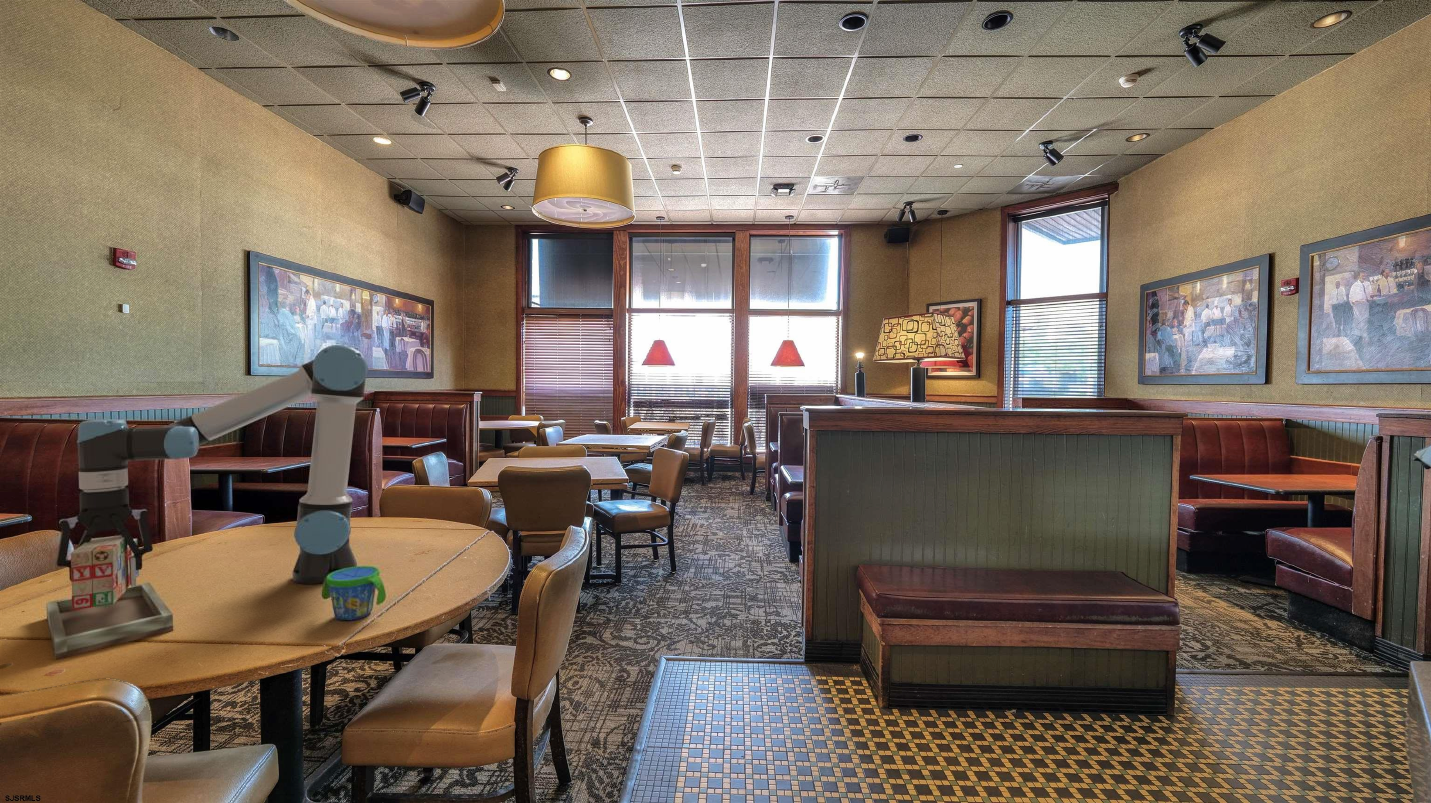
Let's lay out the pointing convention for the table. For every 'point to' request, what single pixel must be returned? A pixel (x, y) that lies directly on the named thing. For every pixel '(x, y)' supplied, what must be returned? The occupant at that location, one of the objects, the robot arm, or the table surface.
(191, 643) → the table surface
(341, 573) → the snack cup
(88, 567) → the stack of blocks
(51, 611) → the grey rectangular tray
